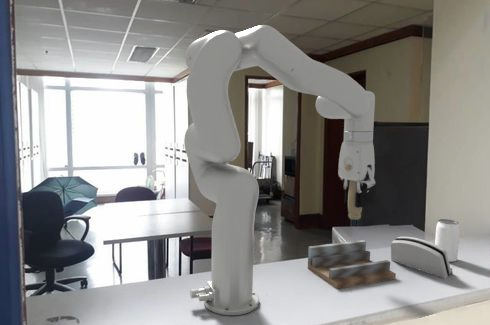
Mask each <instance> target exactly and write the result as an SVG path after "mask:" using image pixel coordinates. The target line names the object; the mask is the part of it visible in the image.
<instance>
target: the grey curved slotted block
mask: <svg viewBox="0 0 490 325" xmlns="http://www.w3.org/2000/svg"><path fill="white" fill-rule="evenodd" d="M391 260H392V262H394V261H395V262H394V263H398V264H400V265H403V264H404V265H403V266H406V265H408V266H407V267H409V266H411V267H410V268H412V267H414V268H413V269H415V268H417V269H416V270H418V269H420V270H419V271H421V270H423V271H422V272H424V271H426V272H425V273H427V272H429V273H428V274H430V273H432V274H431V275H433V274H435V275H434V276H436V275H437V277H439V276H440V278H443V279H446V278H448V277H449V276H448V275H453V274H454V273H453V268H451V266H450V262H449V260H448V256H447V252H446V251H445V250H444V249H443V248H441V247H439V246H437V245H435V243H433V242H431V241H427V240H425V239H422V238H418V237H412V236H398V237H396V238H395V239H394V240H392V242H391V244H390V261H391Z"/></svg>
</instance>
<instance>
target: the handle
mask: <svg viewBox="0 0 490 325" xmlns="http://www.w3.org/2000/svg"><path fill="white" fill-rule="evenodd" d="M345 169H346V170H351V165H347V164H345ZM361 181H364V180H361ZM363 184H364V183H361V185H362V186H363ZM356 192H358V191H357V182H355V181H351V180H350V183H349V192H348V204H347V213H348V214H347V217H348V219H349V220H355V221H357V220H361V218H362V212H363V207H358V208H357V207H355V197H356Z"/></svg>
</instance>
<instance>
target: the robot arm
mask: <svg viewBox="0 0 490 325" xmlns="http://www.w3.org/2000/svg"><path fill="white" fill-rule="evenodd" d="M184 58H185V64H186V66H187V68H188V70H189V72H188V76H187V81H186V99H187V103H188V108H189V112H190V115H191V119H192V123H191V124H190V125H189V126H188V127H187V129H186V131H185V134H184V137H183V138H184V142H183V143H184V148H185V154H186V156H187V159H188V162H189V166H190V169H191V171H192V175H193V178H194V181H195V184H196V186H197V188H198V190H199V192H200V193H201V195H202V196H203V197H204V198H205V199H207V200H209V201H212V202H213V203H215V205H216V206H215V210H214V214H213V218H212V224H211V256H210V257H211V262H210V263H211V268H210V269H211V274H210V276H211V278H210V280H209V281H208V280H207V282H206V283H207V284H206V286H205V285H204V286H203V287H202V288H193V289H190V290H189V292H190V293H189V295H190V296H189V297H190V299H198V301H199V302H203V304H204V306H205V307H206V308H207V309H208V310H209V311H211V312H213V313H215V314H218V315H224V316H240V315H244V314H248V313H250V312H253V311H254V310H256V309H257V307H258V306H259V304H260V298H259V295H258V293H256V291H254V290H253V282H254V281H253V278H254V243H255V241H254V239H255V237H254V236H255V235H254V234H255V232H254V231H255V220H256V219H255V216H256V209H257V205H258V202H259V194H260V186H259V182H258V180H257V178H256V177H255V175H254V174H253V173H252V172H251V171H249V170H248V169H246V168H243V167H241V166H237V165H233V164H229V163H232V162H233V161H235V160H236V159H237V157H238V156H239V155H240V153H241V149H242V147H241V146H242V144H241V139H240V134H239V130H238V128H237V124H236V121H235V117H234V114H233V110H232V107H231V102H230V98H229V83H230V79H231V76H232V75H233V73H234V72H238V71H240V70H244V69H249V68H255V67H259V68H261V69H262V70H264V71H265V72H267V73H268V75H270V76H272V78H275V79H276V80H277V81H279V82H280V83H281V84H282V85H284V86H285V87H286V88H288V89H289V90H292V91H295V92H298V93H301V94H308V95H313V96H317V98H316V101H315V109H316V112H317V113H318V114H319V115H320V116H321V117H323V118H326V119H329V120H330V119H331V120H334V119H335V120H339V119H341V120H344V122H343V124H344V125H343V127H344V128H343V141H342V143H341V146H340V152H339V156H338V157H339V158H338V169H337V171H338V172H337V173H338V177H339V178H340V180H341V182H342V183H343V190H344V199H343V200H344V204H347V205H348V192H349V183H350V180H351V181H355V182H357V191H358V192H356V197H355V207H357V208H358V207H362V208H366V207H367V198H368V197H367V195H368V193H369V191H370V189H371V188H372V187H373V186H375V185H376V180H375V171H376V170H375V169H376V168H375V163H376V162H375V149H374V141H373V140H374V123H375V109H376V107H375V106H376V102H375V101H376V96H375V93H374V92H372V91H370V90H365V88H364V87H363V86H362V85H361V84H359V83H358V82H357V81H356V80H354V79H353V78H352V77H351V76H350V75H349V74H347V73H345V72H343V71H341V70H339V69H337V68H335V67H332V66H330V65H327V64H325V63H323V62H320V61H317V60H314V59H312V58H311V57H309V56H308V55H307V54H306V53H305V52H303V51H302V50H301V49H300V48H299V47H298V46H296V45H295V44H293V42H291V41H290V40H289V39H288V38H286V37H285V35H283V34H282V33H280V31H278V29H276V28H274V27H272V26H270V25H267V24H262V25H261V24H260V25H257V26H254V27H252V28H248V29H246V30H243V31H239V32H236V33H235V32H233V31H230V30H226V29H225V30H217V31H214V32H212V33H209V34H207V35H205V36H203V37H200V38H198V39H196V40H194V41H192V42H191V44H189V46H188V47H187V49H186V50H185V57H184ZM345 164H347V165H351V170H346V169H345ZM361 180H363V181H361ZM361 183H363V186H362V185H361Z"/></svg>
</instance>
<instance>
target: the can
mask: <svg viewBox="0 0 490 325" xmlns="http://www.w3.org/2000/svg"><path fill="white" fill-rule="evenodd" d="M437 221H438V222H437V223H436V227H435V228H436V229H435V240H434V244H435V245H437V246H439V247H441V248H443V249H444V250H445V251H446V252H447V256H448V260H449V263H455V262H456V261H458V254H459V244H460V230H461V227H460V223H459V221H456V220H454V219H449V218H448V219H447V218H446V219H445V218H440V219H438V220H437ZM454 261H455V262H454Z"/></svg>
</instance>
